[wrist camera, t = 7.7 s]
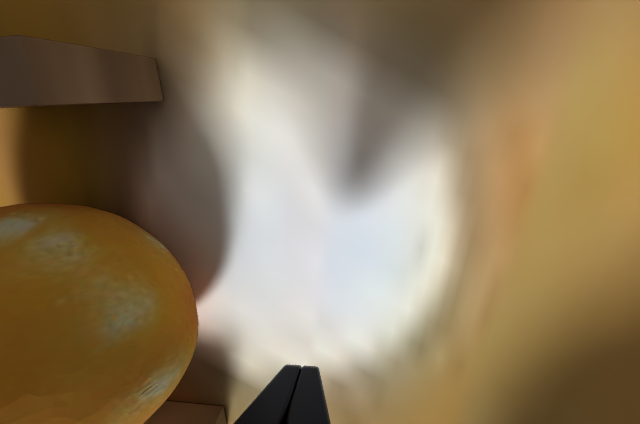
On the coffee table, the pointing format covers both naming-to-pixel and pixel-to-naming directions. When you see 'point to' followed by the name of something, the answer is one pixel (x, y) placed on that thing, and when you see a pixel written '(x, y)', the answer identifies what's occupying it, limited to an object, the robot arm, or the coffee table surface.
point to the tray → (87, 88)
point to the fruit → (88, 317)
